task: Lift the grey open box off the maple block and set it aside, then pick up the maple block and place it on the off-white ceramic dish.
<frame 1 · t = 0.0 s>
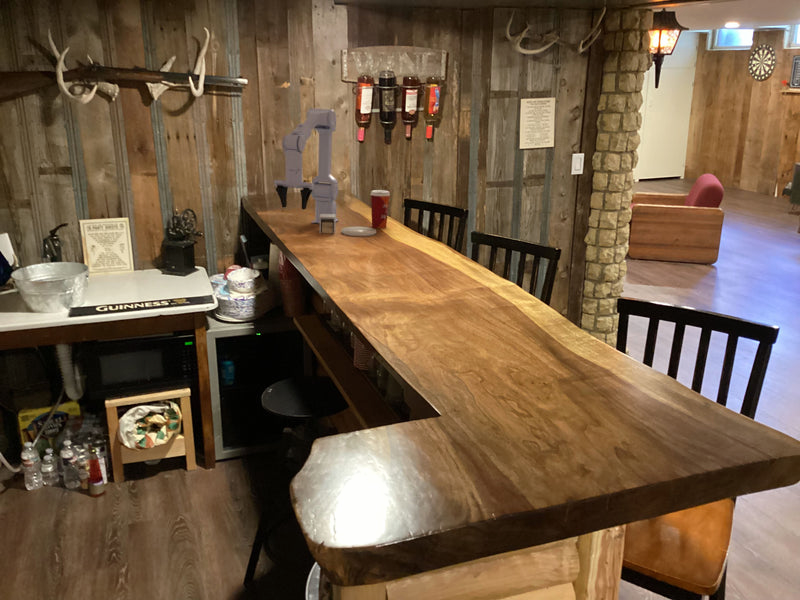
hand: (294, 208, 248), 10 cm above the bar counter, fingers open, 7 cm apart
maple block: (327, 232, 260), on the bar counter
ceramic dish: (358, 232, 261), on the bar counter
grey open box: (327, 231, 260), on the bar counter
paper cup: (379, 227, 273), on the bar counter
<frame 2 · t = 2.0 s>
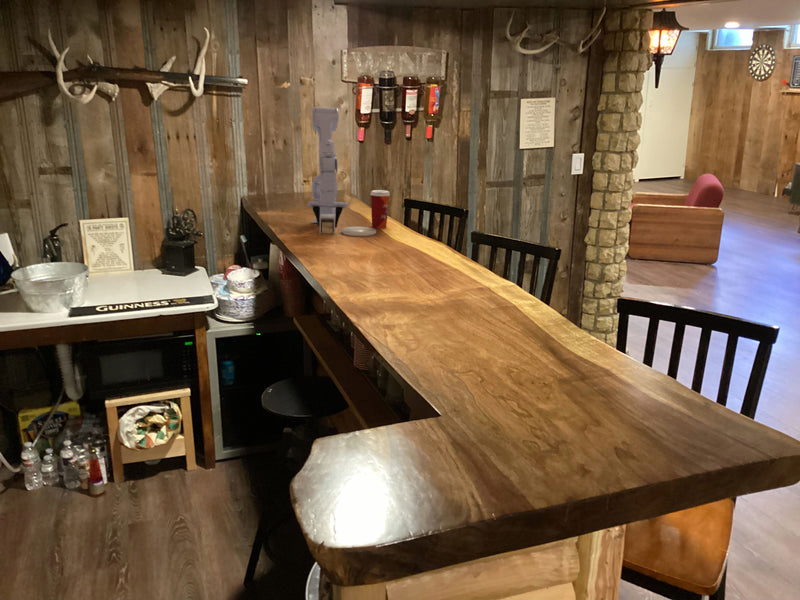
hand: (327, 226, 260), 2 cm above the bar counter, fingers closed on grey open box, 6 cm apart
grey open box: (327, 231, 260), on the bar counter, touching gripper
everything else where it was.
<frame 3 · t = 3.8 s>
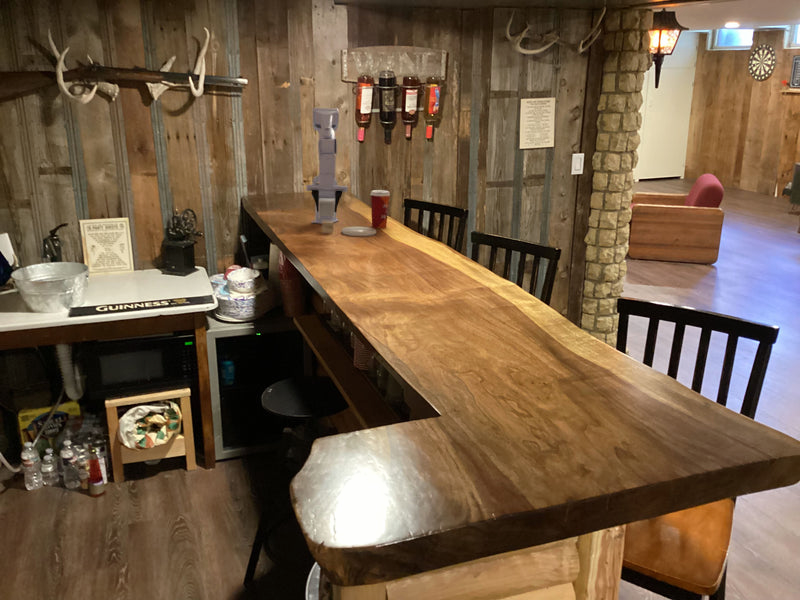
hand: (326, 211, 250), 9 cm above the bar counter, fingers closed on grey open box, 6 cm apart
grey open box: (326, 216, 251), point 7 cm above the bar counter, touching gripper
everything else where it was.
when the fingers open (3 cm above the bar counter, at t = 5.6 s): grey open box stays where it is, on the bar counter.
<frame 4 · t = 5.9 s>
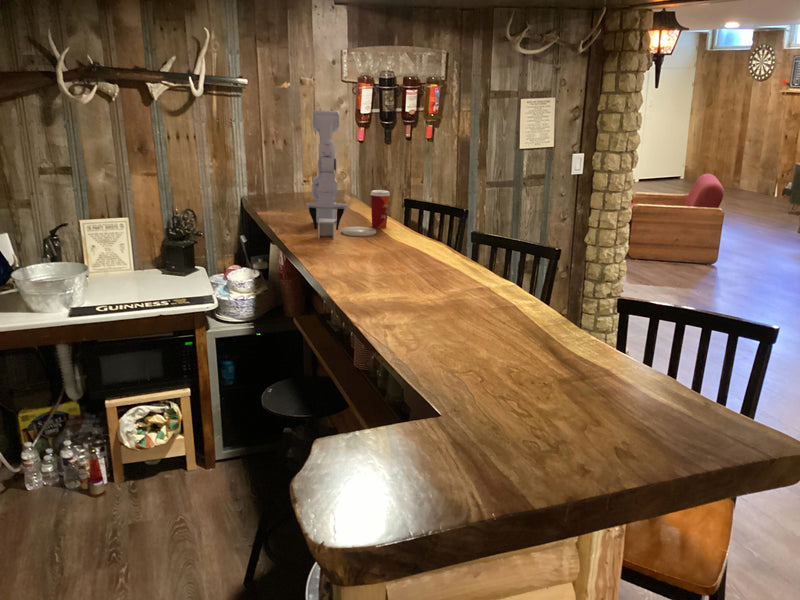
hand: (326, 229, 251), 3 cm above the bar counter, fingers open, 7 cm apart
grey open box: (326, 237, 252), on the bar counter
everything else where it was.
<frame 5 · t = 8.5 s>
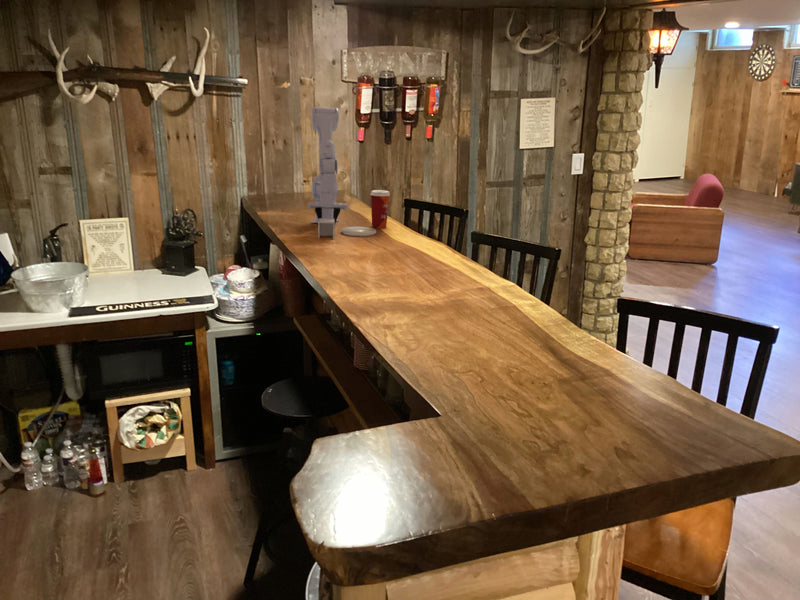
hand: (327, 228, 260), 1 cm above the bar counter, fingers closed on maple block, 4 cm apart
maple block: (327, 231, 260), on the bar counter, touching gripper
everything else where it was.
when the fingers open (4 cm above the bar counter, at t = 11.7 s): maple block drops 1 cm, resting on ceramic dish.
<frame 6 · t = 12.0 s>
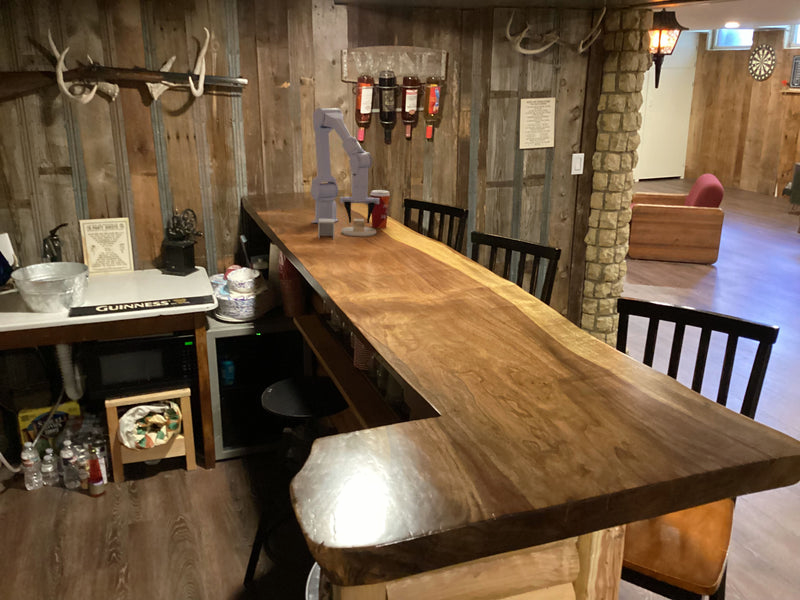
hand: (359, 222, 260), 4 cm above the bar counter, fingers open, 6 cm apart
maple block: (358, 230, 260), point 1 cm above the bar counter, touching ceramic dish
everything else where it was.
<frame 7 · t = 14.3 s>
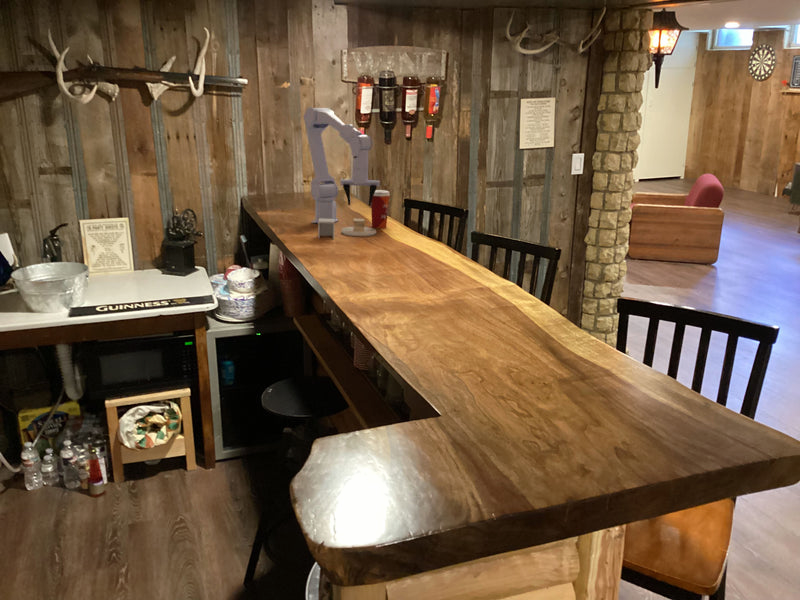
hand: (359, 205, 261), 10 cm above the bar counter, fingers open, 7 cm apart
nothing on the bar counter moved.
at the end: maple block inside the target area on the ceramic dish (0.2 cm from its centre), point 1.0 cm above the ceramic dish's base; the gripper is holding nothing; grey open box moved 9.0 cm from its start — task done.
